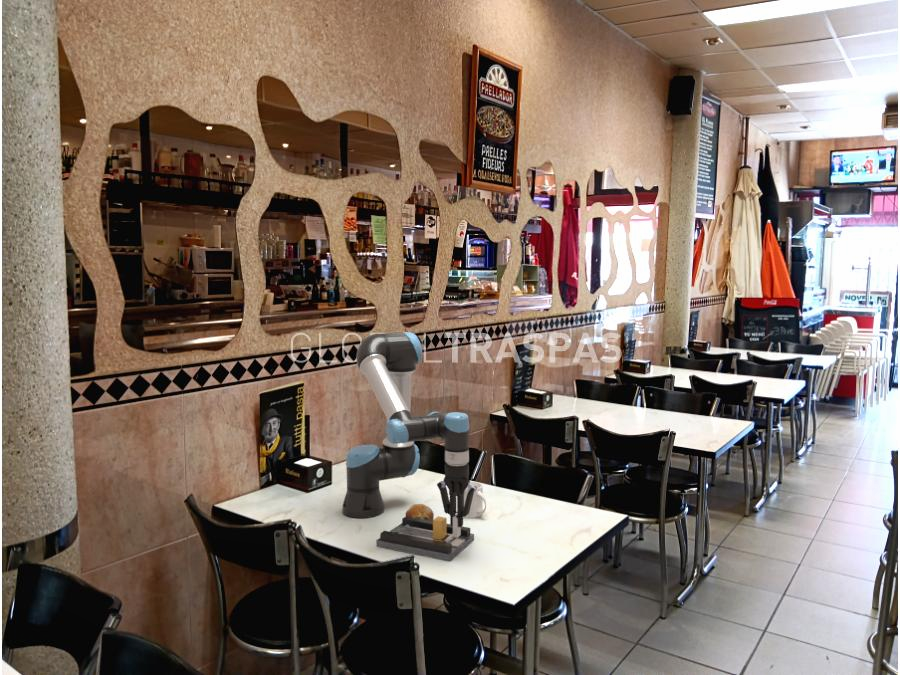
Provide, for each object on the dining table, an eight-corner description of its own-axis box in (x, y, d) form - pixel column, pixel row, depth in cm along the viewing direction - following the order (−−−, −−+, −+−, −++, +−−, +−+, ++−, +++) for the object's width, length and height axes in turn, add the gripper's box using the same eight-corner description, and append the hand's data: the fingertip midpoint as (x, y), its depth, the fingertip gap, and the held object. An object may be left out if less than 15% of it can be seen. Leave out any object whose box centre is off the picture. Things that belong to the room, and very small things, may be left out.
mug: (476, 523, 242) (476, 493, 241) (453, 514, 251) (453, 485, 249) (494, 517, 247) (494, 487, 246) (470, 508, 256) (470, 479, 255)
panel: (376, 546, 222) (376, 533, 222) (404, 526, 238) (404, 515, 238) (450, 561, 211) (450, 548, 211) (474, 539, 227) (474, 527, 227)
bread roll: (435, 530, 245) (439, 507, 248) (426, 527, 236) (430, 503, 238) (409, 526, 248) (413, 503, 251) (399, 524, 239) (403, 500, 242)
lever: (432, 541, 221) (432, 520, 220) (438, 536, 225) (438, 515, 224) (440, 542, 220) (440, 521, 219) (447, 537, 224) (447, 517, 223)
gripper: (432, 463, 216) (432, 536, 219) (471, 468, 211) (470, 543, 214) (443, 457, 223) (443, 528, 226) (480, 462, 218) (480, 535, 220)
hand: (456, 535), depth 220 cm, fingers closed
